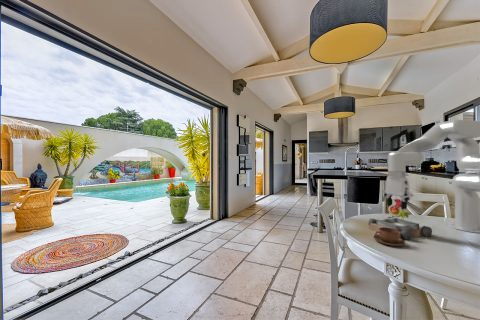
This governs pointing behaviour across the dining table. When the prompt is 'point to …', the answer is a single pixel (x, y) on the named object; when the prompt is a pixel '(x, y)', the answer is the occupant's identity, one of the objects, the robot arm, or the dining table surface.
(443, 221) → the dining table surface
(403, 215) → the bird rattle
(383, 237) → the cup and saucer
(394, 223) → the chassis
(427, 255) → the dining table surface
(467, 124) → the robot arm
